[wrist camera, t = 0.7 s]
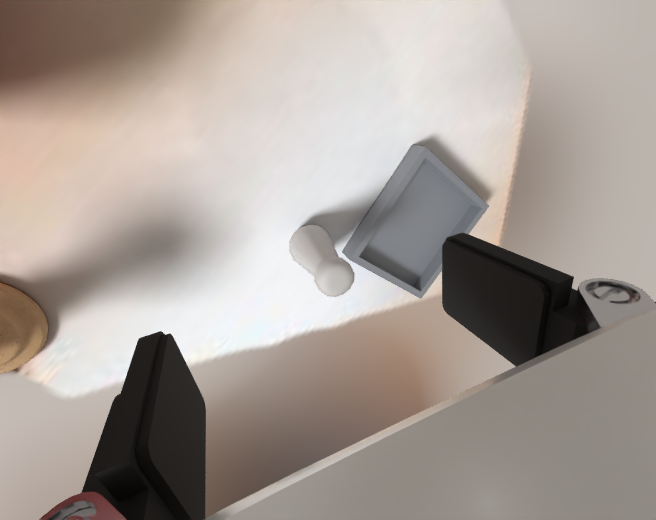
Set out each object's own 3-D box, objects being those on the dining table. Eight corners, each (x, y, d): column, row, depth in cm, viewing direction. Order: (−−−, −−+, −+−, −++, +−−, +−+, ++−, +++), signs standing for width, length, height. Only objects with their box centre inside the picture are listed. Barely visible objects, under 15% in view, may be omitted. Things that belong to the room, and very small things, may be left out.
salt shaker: (309, 211, 42) (345, 245, 31) (332, 240, 45) (373, 280, 34) (276, 239, 42) (301, 283, 31) (302, 266, 45) (332, 315, 34)
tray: (412, 144, 43) (425, 146, 41) (475, 201, 51) (489, 206, 49) (341, 251, 47) (349, 259, 44) (411, 289, 54) (421, 298, 52)
